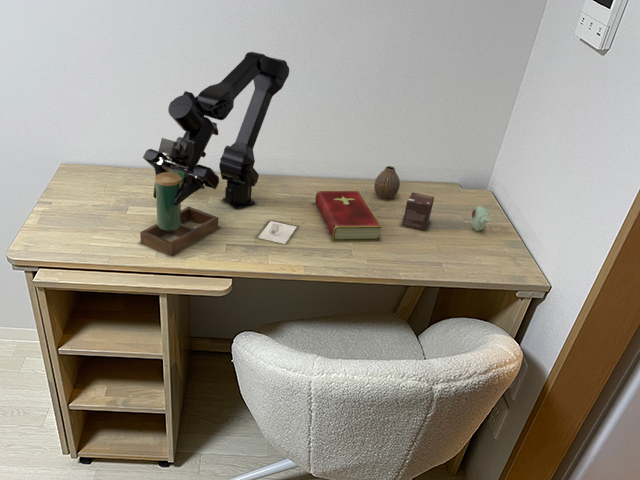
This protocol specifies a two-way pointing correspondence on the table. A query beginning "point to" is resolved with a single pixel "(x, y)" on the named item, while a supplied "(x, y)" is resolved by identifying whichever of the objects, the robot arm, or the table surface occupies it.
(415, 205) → the box
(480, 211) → the pale green lumpy piece
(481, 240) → the table surface
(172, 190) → the canister
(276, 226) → the adhesive hook
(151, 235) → the rack
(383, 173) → the vase
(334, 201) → the hardcover book
